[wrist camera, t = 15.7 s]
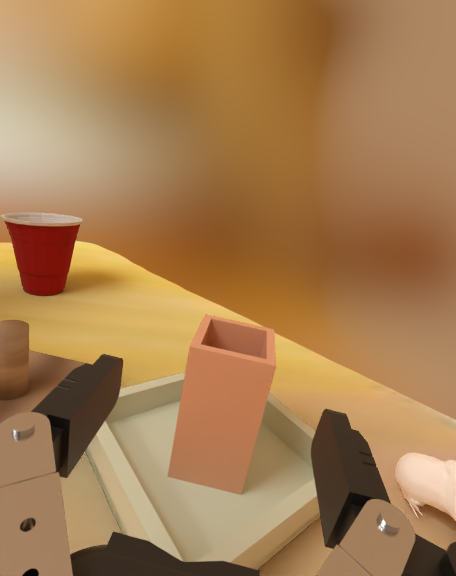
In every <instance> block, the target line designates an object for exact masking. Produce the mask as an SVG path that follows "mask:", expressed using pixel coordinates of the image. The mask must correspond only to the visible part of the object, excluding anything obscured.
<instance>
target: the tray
mask: <svg viewBox="0 0 456 576" xmlns="http://www.w3.org/2000/svg"><path fill="white" fill-rule="evenodd" d="M184 377H185V372H183V373H179V374H175V375H172V376H168V377H164V378H160V379H156V380H152V381H149V382H145V383H141V384H137V385H133V386H129V387H125V388H122V389H120V393H119V397H118V400H117V402H116V404H115V406H114V408H113V410H112V411H111V413H110V414H109V416H108V417H107V419H106V420H105V422H104V423H103V425H102V426H101V428H100V429H99V431H98V432H97V434H96V435H95V437H94V438H93V440H92V441H91V443H90V444H89V446H88V447H87V449H86V450H85V451H86V453H87V456H88V458H89V460H90V462H91V465H92V467H93V469H94V471H95V474H96V476H97V478H98V480H99V483H100V485H101V487H102V489H103V492H104V494H105V496H106V498H107V500H108V503H109V505H110V507H111V509H112V512H113V514H114V516H115V518H116V521H117V523H118V525H119V527H120V530H121V532H122V534H124V535H128V536H132V537H135V538H139V539H143V540H147V541H149V542H151V543H153V544H154V545H156V546H158V547H159V548H161V549H163V550H164V551H166V552H168V553H169V554H171V555H172V556H174V557H176V558H177V559H179V560H181V561H184V562H201V561H226V562H230V563H233V564H237V565H241V566H245V567H248V568H252V569H256V570H258V569H259V568H260V567H261V566H262V565H263V564H265V563H266V562H267V561H268V560H269V559H271V558H272V557H273V556H274V555H275V554H276V553H278V552H279V551H280V550H281V549H282V548H284V547H285V546H286V545H287V544H288V543H289V542H291V541H292V540H293V539H294V538H295V537H297V536H298V535H299V534H300V533H301V532H302V531H304V530H305V529H306V528H307V527H308V526H309V525H311V524H312V523H313V522H314V521H315V520H317V519H318V518H319V517H320V511H319V505H318V499H317V492H316V486H315V480H314V473H313V467H312V461H311V445H312V441H313V438H314V435H315V432H316V431H315V430H313V429H312V428H311V427H310V426H309V425H307V424H306V423H305V422H304V421H303V420H301V419H300V418H299V417H298V416H296V415H295V414H294V413H293V412H292V411H290V410H289V409H288V408H287V407H286V406H284V405H283V404H282V403H281V402H279V401H278V400H277V399H276V398H275V397H273V396H272V395H271V394H270V393H269V394H268V397H267V401H266V405H265V409H264V412H263V416H262V420H261V424H260V427H259V431H258V435H257V439H256V442H255V446H254V450H253V453H252V457H251V461H250V465H249V468H248V472H247V476H246V480H245V483H244V487H243V491H242V494H241V495H239V494H235V493H231V492H227V491H223V490H219V489H215V488H211V487H207V486H202V485H198V484H194V483H190V482H186V481H182V480H178V479H174V478H170V477H167V476H168V471H169V465H170V459H171V453H172V447H173V441H174V436H175V430H176V424H177V418H178V412H179V406H180V401H181V395H182V389H183V383H184Z"/></svg>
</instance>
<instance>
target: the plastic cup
mask: <svg viewBox="0 0 456 576" xmlns="http://www.w3.org/2000/svg"><path fill="white" fill-rule="evenodd" d="M1 218H2V219H3V220H4V221H5V223H6V225H7V229H9V234H10V236H11V239H12V244H13V248H14V253H15V257H16V262H17V266H18V270H19V272H20V278H21V283H22V286H23V289H24V290H25V292H27V293H29V294H33V295H43V296H47V295H55V294H59V293H61V292H62V291H63V289H64V287H65V283H66V279H67V274H68V272H69V268H70V263H71V258H72V254H73V249H74V244H75V240H76V237H77V233H78V229H79V226H80V224H81V223H82V219H81V218H78V217H74V216H69V215H60V214H49V213H10V214H3V215H1Z"/></svg>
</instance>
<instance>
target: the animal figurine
mask: <svg viewBox="0 0 456 576" xmlns="http://www.w3.org/2000/svg"><path fill="white" fill-rule="evenodd" d="M395 478H396V481H397V482H398V484H399V485H400V488H401V490H402V494H403V496H404V498H405V499H406V500H407V501H408V502H409V504H410V506H411V508H412V509H413V511H414V513H415V515H416V516H417V514H416V512H415V510H414V508H415V509H416V510H417V511H418V512H419V513H420V515H421V514H422V513H421V512H420V511H419V507H417V506H416V505H418V506H424V505H425V504H428V505H430V506H433V507H435V508H437V509H439V510H440V511H443V512H446V513H447V514H449V515H450V516H451V517H452V518H453V519H454V520H455V521H456V461H455V460H448V461H441V460H439V459H437V458H435V457H432V456H428V455H424V454H419V453H408V454H405V455H404V456H402V457H401V458H400V459H399V461H398V463H397V465H396V469H395ZM422 515H423V514H422ZM422 515H421V516H422ZM417 518H418V516H417ZM418 519H419V518H418Z"/></svg>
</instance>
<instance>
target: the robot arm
mask: <svg viewBox="0 0 456 576" xmlns="http://www.w3.org/2000/svg"><path fill="white" fill-rule="evenodd" d="M122 368H123V359H122V358H118V357H114V356H110V355H106V354H103V355H101V356H100V358H99V359H98V360H97V361H96V362H95V363H94V364H93V365H91V364H87V363H86V364H84V365H81V366H79V367H77V368H75V369H73V370H72V371H71V372H70V373H69V374H68V375H67V376H66V377H65V379H64V380H62V381H61V382H60V383H59V384H58V386H57V387H55V388H54V389H53V390H52V391H51V392H50V393H49V394H48V395H47V396H46V397H45V398H44V399H43V400H42V401H41V402H40V403H39V404H38V405H37V406H36V407H35V408H34V409H33V410H32V411H31V412H25V413H20V414H17V415H14V416H11V417H9V418H8V419H6V420H5V421H3V422H2V423H1V424H0V576H259V570H256V569H252V568H248V567H245V566H241V565H237V564H233V563H230V562H226V561H201V562H184V561H181V560H179V559H177V558H176V557H174V556H172V555H171V554H169V553H168V552H166V551H164V550H163V549H161V548H159V547H158V546H156V545H154V544H153V543H151V542H149V541H147V540H143V539H139V538H135V537H132V536H128V535H124V534H120V533H117V532H113V533H112V535H111V538H110V540H109V542H108V545H99V546H93V547H89V548H85V549H82V550H80V551H77V552H75V553H72V554H71V555H70V550H69V543H68V535H67V528H66V520H65V513H64V505H63V498H62V490H61V483H60V476H61V477H65V478H67V477H68V476H69V474H70V473H71V471H72V470H73V468H74V467H75V465H76V464H77V462H78V461H79V459H80V458H81V456H82V455H83V453H84V452H85V450H86V449H87V447H88V446H89V444H90V443H91V441H92V440H93V438H94V437H95V435H96V434H97V432H98V431H99V429H100V428H101V426H102V425H103V423H104V422H105V420H106V419H107V417H108V416H109V414H110V413H111V411H112V410H113V408H114V406H115V404H116V402H117V400H118V397H119V393H120V385H121V377H122ZM311 461H312V467H313V473H314V480H315V486H316V492H317V499H318V505H319V511H320V517H321V524H322V530H323V536H324V543H325V547H329V548H333V551H332V552H331V554H330V555H329V557H328V558H327V560H326V561H325V563H324V564H323V566H322V568H321V569H320V571H319V572H318V574H317V575H316V576H456V542H454V543H452V544H450V546H449V547H448V549H447V550H444V549H442V548H440V547H438V546H436V545H434V544H433V543H431V542H429V541H427V540H425V539H423V538H422V537H420V536H418V535H417V534H415V532H414V529H413V527H412V525H411V523H410V521H409V520H408V519H407V517H406V516H405V515H404V514H403V513H402V512H401V511H400V510H399V509H398V508H396V507H395V506H393V505H392V504H391V503H390V500H389V497H388V495H387V492H386V489H385V487H384V484H383V482H382V479H381V476H380V474H379V471H378V469H377V467H376V463H375V461H374V458H373V457H372V453H371V450H370V448H369V445H368V443H367V441H366V440H365V439H364V438H363V436H362V435H361V434H360V433H359V431H356V430H352V429H351V426H350V423H349V420H348V417H347V415H346V414H345V413H340V412H336V411H332V410H328V409H325V410H324V411H323V413H322V416H321V419H320V421H319V424H318V427H317V430H316V432H315V435H314V438H313V441H312V445H311Z"/></svg>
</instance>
